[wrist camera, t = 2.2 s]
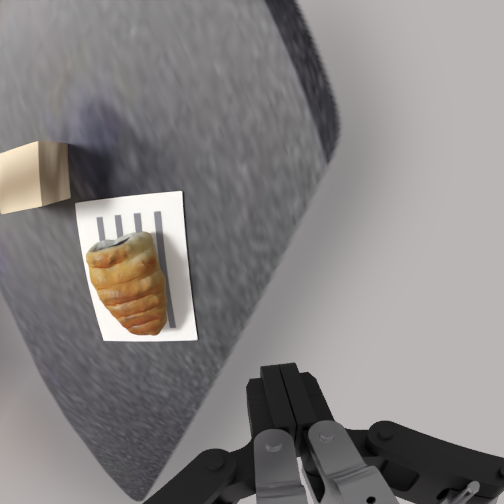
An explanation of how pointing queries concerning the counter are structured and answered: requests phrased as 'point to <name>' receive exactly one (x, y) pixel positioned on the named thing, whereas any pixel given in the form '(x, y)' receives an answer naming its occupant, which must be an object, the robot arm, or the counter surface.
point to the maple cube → (34, 176)
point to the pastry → (130, 282)
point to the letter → (167, 246)
